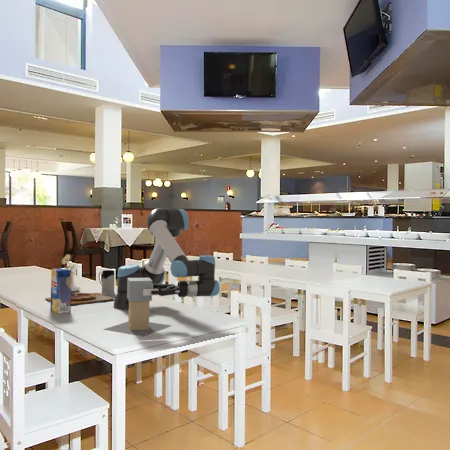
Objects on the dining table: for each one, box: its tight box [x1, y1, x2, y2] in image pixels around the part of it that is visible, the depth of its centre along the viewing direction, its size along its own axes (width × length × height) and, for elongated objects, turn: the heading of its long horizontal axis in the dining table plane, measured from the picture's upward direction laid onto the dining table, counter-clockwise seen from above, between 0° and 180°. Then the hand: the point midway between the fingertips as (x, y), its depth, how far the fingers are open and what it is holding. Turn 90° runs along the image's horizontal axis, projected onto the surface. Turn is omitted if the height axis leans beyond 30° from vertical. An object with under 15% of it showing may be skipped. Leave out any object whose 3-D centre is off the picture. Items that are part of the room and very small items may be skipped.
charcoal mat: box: [102, 321, 172, 337], centre depth 198 cm, size 22×22×1 cm
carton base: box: [127, 301, 150, 330], centre depth 198 cm, size 8×8×18 cm
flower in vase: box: [61, 254, 81, 293], centre depth 289 cm, size 13×11×25 cm
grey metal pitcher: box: [98, 269, 116, 296], centre depth 286 cm, size 9×14×15 cm, turn 53°
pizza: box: [45, 292, 116, 306], centre depth 261 cm, size 35×28×4 cm
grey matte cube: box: [127, 278, 153, 302], centre depth 198 cm, size 10×10×9 cm
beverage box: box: [49, 267, 73, 314], centre depth 230 cm, size 7×11×22 cm, turn 40°
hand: (141, 289), depth 198 cm, fingers open, 13 cm apart
